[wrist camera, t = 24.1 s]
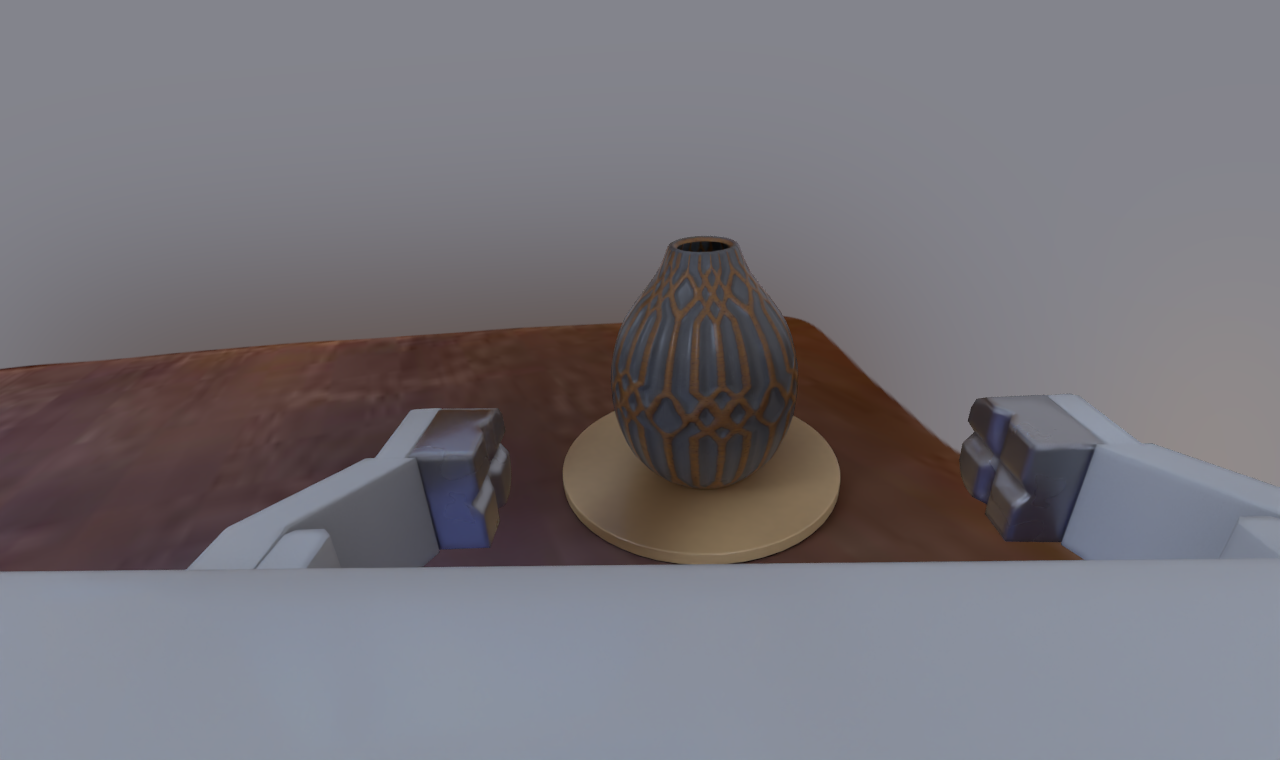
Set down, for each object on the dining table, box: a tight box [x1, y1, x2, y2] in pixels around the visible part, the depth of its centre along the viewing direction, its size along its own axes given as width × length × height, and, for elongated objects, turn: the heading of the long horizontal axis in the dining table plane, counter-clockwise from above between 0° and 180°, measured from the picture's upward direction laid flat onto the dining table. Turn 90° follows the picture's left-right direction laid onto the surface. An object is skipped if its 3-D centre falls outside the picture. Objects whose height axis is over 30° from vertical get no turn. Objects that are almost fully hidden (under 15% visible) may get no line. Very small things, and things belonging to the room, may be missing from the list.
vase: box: [611, 236, 798, 489], centre depth 22 cm, size 7×7×9 cm
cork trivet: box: [563, 411, 840, 564], centre depth 25 cm, size 11×11×1 cm
